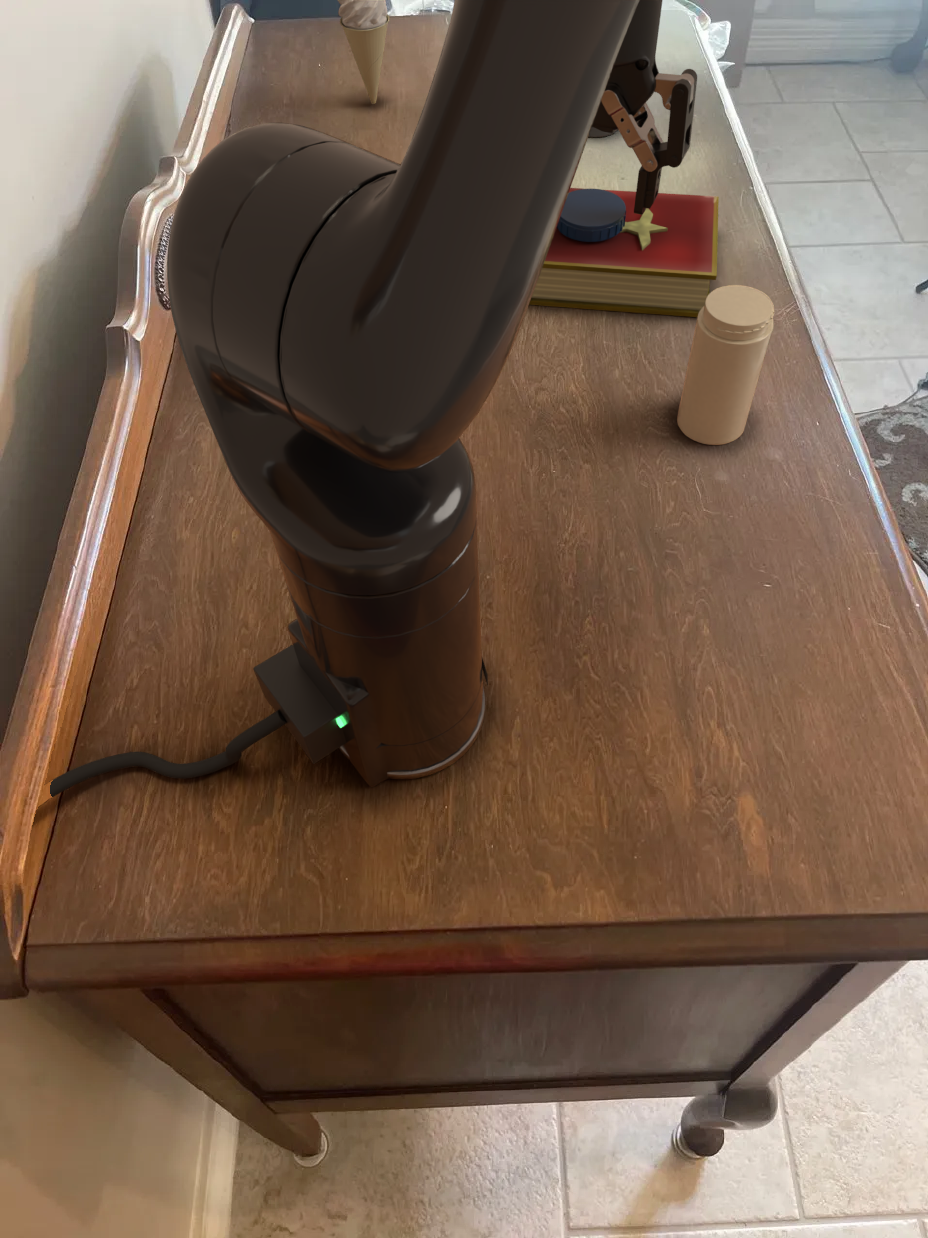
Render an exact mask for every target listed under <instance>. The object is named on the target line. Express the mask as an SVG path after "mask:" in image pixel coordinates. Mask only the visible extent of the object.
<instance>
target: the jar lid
mask: <svg viewBox="0 0 928 1238" xmlns="http://www.w3.org/2000/svg"><path fill="white" fill-rule="evenodd" d="M606 190H607V189H601V188H582V189H580V190H575V191H572V192H569V193H568V196H567V199H566V202H565V204H564V207H563V210H562V213H561V216H560V219H559V222H558V224H557V227H556V228H558V230H559V231H560V233H562V234H563V235H565V236H566V237H569V238H571V239H574V240H577V241H583V242H598V241H603V240H607V239H610V238H612V237H614V236H616V235H617V234H619V233H620V232H621V231H622V229H623V227H624V226H625V219H626V206H625V203H624V201H623V200H622V199H621V198H620V197H619V196H617V195H616V194H614V193H612V192H609V191H606Z"/></svg>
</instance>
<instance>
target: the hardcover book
mask: <svg viewBox="0 0 928 1238" xmlns="http://www.w3.org/2000/svg"><path fill="white" fill-rule="evenodd" d="M580 189H583V188H581V187H570V190H569V192H572V191H575V190H580ZM605 190H606V191H609V192H612V193H614V194H616V195H617V196H619V197H620V198H621V199H622V200H623V201H624V203H625V206H626V219H625V226H624V227H623V229H622V231H621V232H620V233H619V234H617V235H616V236H614V237H612V238H610V239H607V240H603V241H598V242H583V241H577V240H574V239H571V238H569V237H566V236H565V235H563V234H562V233H560V231H559V230H558V228H556V230H555V233H554V236H553V239H552V242H551V244H550V247H549V250H548V253H547V256H546V259H545V261H544V264H543V267H542V270H541V273H540V276H539V279H538V281H537V284H536V287H535V289H534V292H533V295H532V297H531V300H530V303H529V305H530V306H545V307H555V308H571V309H583V310H584V309H585V310H598V311H609V312H623V313H636V314H649V315H661V316H662V315H663V316H674V317H675V316H677V317H688V318H689V317H690V318H697V317H698V313H699V311H700V310H701V309H702V307H704V305H705V301H706V298H707V296H708V295H709V294H710V283H711V281H716V280H717V277H718V276H717V275H718V244H719V243H718V242H719V240H718V239H719V236H718V235H719V202H720V201H719V200H720V198H719V195H718V196H717V195H701V194H700V195H699V194H682V193H667V192H666V193H664V192H658V195H657V197H656V199H655V201H654V203H653V204H652V206H651V208H650V209H648V208H646V210H645V212H644V213H643V215H641V214H635V213H634V205H635V197H636V191H631V190H615V189H613V190H612V189H605Z"/></svg>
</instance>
